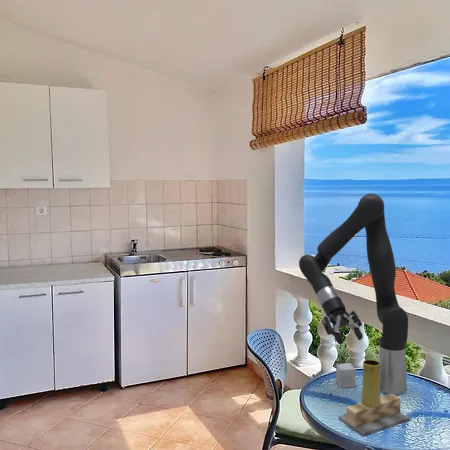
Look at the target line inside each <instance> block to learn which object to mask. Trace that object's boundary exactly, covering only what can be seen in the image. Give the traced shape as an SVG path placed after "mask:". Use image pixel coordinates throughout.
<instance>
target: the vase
mask: <svg viewBox="0 0 450 450" xmlns="http://www.w3.org/2000/svg"><path fill="white" fill-rule="evenodd" d="M362 366H363V367H362V370H363V371H362V390H361V391H362V392H361V402H360V403H362V404H363V405H365V406H367V407H372V408H375V407H379V406H380V404H381V403H380V397H381V391H380V363H379V360H376V359H370V358H369V359H365V360H363V362H362Z"/></svg>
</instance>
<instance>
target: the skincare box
mask: <svg viewBox="0 0 450 450" xmlns="http://www.w3.org/2000/svg"><path fill="white" fill-rule="evenodd" d="M335 373H336V374H335V375H336V381H335V382H336V383H337V385H338V386H339V388H340V389H345V388H347V389H349V388H356V368H355V367H354V366H353V364H352V363H351V362H348V363H347V362H346V363H345V362H344V363H336V364H335Z"/></svg>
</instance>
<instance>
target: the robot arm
mask: <svg viewBox="0 0 450 450" xmlns="http://www.w3.org/2000/svg"><path fill="white" fill-rule="evenodd" d="M385 218H386V217H385V202H384V200H383V198H382V197H381V196H380V195H378V194H376V193H367V194H365V195H362V197H361V198H360V199H359V201H358V203H357V206H356V207H355V209H354V210H353V211H352V213H351V214H350V216H348V218H347V219H345V221H343V222H342V224H340V225H339V226H337V228H335V229H334V230H332V232H330V234H328V235H327V236H326V237H325V238H324V239H323V240H322V241H321V242H320V243H319V245H317V250H316V251H317V253H316V255H311V254H304V255H303V256H301V257H300V258H299V261H298V266H299V270H300V272H301V273H302V275H303V276H304V278H305V279H306V280H307V282H308V283H309V284H310V285H311V287H312V289H313V292H314V293H315V296H316V297H317V300H318V302H319V304H320V306H321V309H322V310H323V312H324V315H325V316H324V317H323V318H322V319H321V323H322V325H323V328H324V329H325V332H326V334H327V335H328V336H329V335H332V336H333V337H334V340H335V341H336V342H337V344H339V345H343V343H344V339H343V337H342V335H341V333H340V332H339V329H340V328H343V327H344V328H345V327H347V328H348V329H349V328H350V329H351V330H353V333H354V335H355V337H356V338H357V340H358V341H361V340H362V339H363V338H364V335H363V333H362V330H361V329H360V328H361V327H362V326H363V323H362V321H361V320H360V317H359V316H358V315H357V313H356V311H355V310H352V311H351V312H348V311H347V310H346V306H345V303H344V302H343V300H342V299H341V298H342V297H341V296H340V295H339V293H338V291H337V290H336V289H335V287H334V285H333V283H332V281H331V279H330V277H328V275H326V274H325V273H324V271H325V269H327V267H328V265H329V264H330V262H331V260H332V259H333V258H334V257H335V256H336V255H337V254H338V253H339V252H340V251H341V250H342V249H343V248H344V247H345V246H346V245H347V244H348V243H349V242H350V241H351V240H352V239H353V238H354V237H355V236H356V235H357V234H358V233H359V232H361V231H362V230H363V229H365V238H366V241H365V242H366V243H365V244H366V245H365V246H366V256H367V262H368V269H369V272H370V276H371V277H370V278H371V280H372V284H373V288H374V289H373V290H374V293H375V302H376V315H377V319H378V320H379V322H380V323H381V325H382V334H381V336H380V338H378V339H379V341H378V345H379V346H378V348H379V349H378V362H379V363H380V392H382V393H384V394H386V395H388V394H394V395H396V396H399V395H403V394H404V393H405V392H406V391H407V379H408V378H407V376H408V375H407V374H408V369H407V368H408V367H407V365H406V344H407V341H408V337H409V336H408V332H409V316H408V314H407V312H406V310H404V308H402V307H401V306H400V305H399V302H398V300H397V299H398V298H397V294H396V290H395V289H396V288H395V282H396V275H397V274H396V273H397V268H396V261H395V256H394V252H393V248H392V244H391V241H390V237H389V235H388V230H387V227H386V226H387V225H386V219H385ZM331 324H332V325H331Z"/></svg>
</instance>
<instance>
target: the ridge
mask: <svg viewBox="0 0 450 450" xmlns="http://www.w3.org/2000/svg"><path fill="white" fill-rule="evenodd" d="M380 403H381V404H380V406H379V407H375V408H372V407H367V406H365V405H363V404H362V402H360V403H359V402H358V403H356V404H353V405H349V406H346V411H345V412H346V413H344V414H340V415H338V420H339V421H340V422H342V423H344V424H345V426H348V427H350V428H351V429H352V430H353V431H355V432H356V433H357V434H359V435H360V436H362V437H365V436H366V437H367V436H369V435H371V434H375V433H377V432H380V431H383V430H386V429H389V428H392V427H394V426H397V425H401V424H403V423H406V422H409V421H410V417H409V416H407V415H406V414H404V413H402V412H401V406H402V405H401V397H399V396H398V395H394V394H386V395H385V394H384V395H382V396H380Z"/></svg>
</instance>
